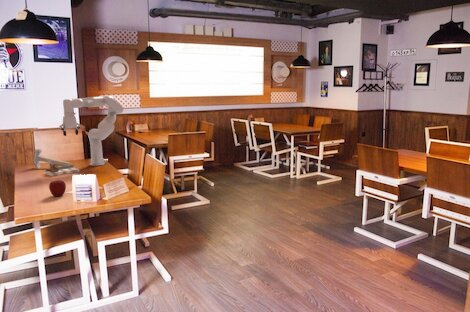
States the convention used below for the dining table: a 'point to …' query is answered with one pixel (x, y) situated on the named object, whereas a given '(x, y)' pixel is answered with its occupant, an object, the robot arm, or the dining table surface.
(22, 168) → the dining table surface
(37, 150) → the hammer
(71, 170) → the board
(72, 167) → the rail
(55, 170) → the brown block with stick
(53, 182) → the apple
